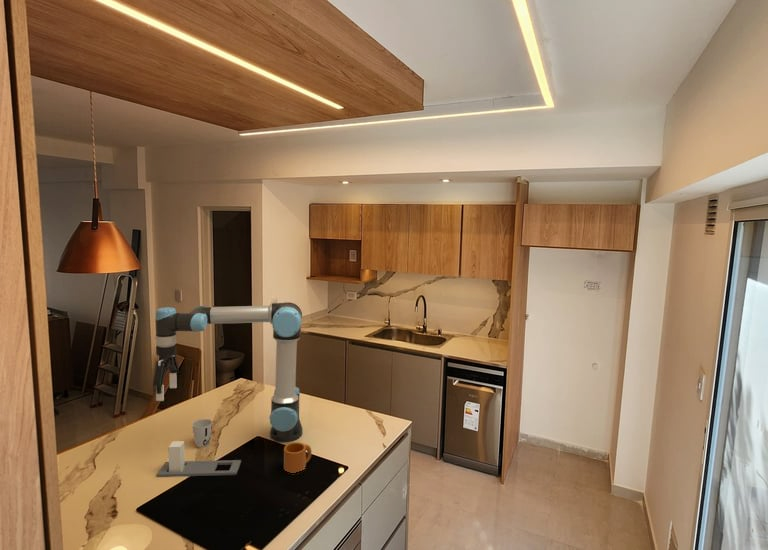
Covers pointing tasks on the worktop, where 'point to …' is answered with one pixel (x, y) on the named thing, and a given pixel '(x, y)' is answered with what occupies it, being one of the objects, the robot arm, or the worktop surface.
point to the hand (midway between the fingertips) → (166, 393)
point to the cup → (202, 432)
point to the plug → (176, 456)
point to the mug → (296, 457)
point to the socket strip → (201, 468)
